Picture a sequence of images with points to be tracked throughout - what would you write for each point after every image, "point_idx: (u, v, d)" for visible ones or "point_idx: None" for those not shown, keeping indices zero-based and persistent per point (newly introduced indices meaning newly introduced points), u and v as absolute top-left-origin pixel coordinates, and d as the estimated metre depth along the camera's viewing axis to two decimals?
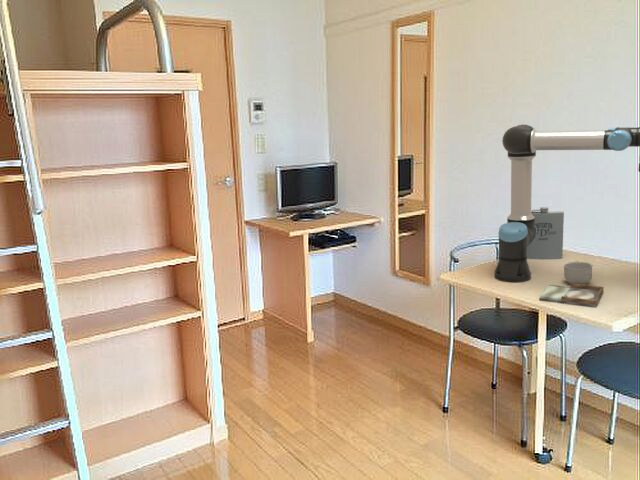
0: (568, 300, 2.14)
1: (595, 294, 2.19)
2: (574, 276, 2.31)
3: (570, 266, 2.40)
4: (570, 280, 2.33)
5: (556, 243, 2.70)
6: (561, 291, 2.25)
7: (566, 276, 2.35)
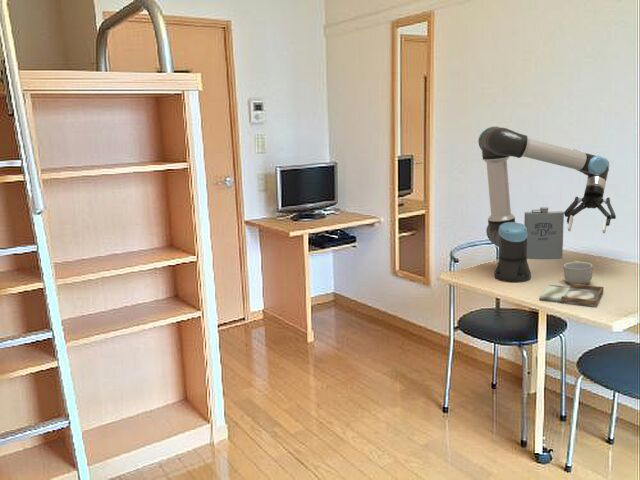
0: (568, 300, 2.14)
1: (595, 294, 2.19)
2: (574, 276, 2.31)
3: (570, 266, 2.40)
4: (570, 280, 2.33)
5: (556, 243, 2.70)
6: (561, 291, 2.25)
7: (566, 276, 2.35)
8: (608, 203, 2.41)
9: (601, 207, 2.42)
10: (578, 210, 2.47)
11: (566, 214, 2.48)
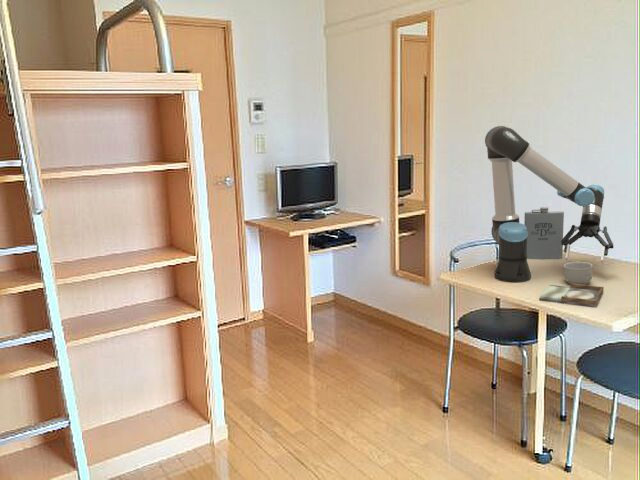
0: (568, 300, 2.14)
1: (595, 294, 2.19)
2: (574, 276, 2.31)
3: (570, 266, 2.40)
4: (570, 280, 2.33)
5: (556, 243, 2.70)
6: (561, 291, 2.25)
7: (566, 276, 2.35)
8: (605, 232, 2.39)
9: (598, 236, 2.39)
10: (575, 239, 2.44)
11: (563, 243, 2.45)
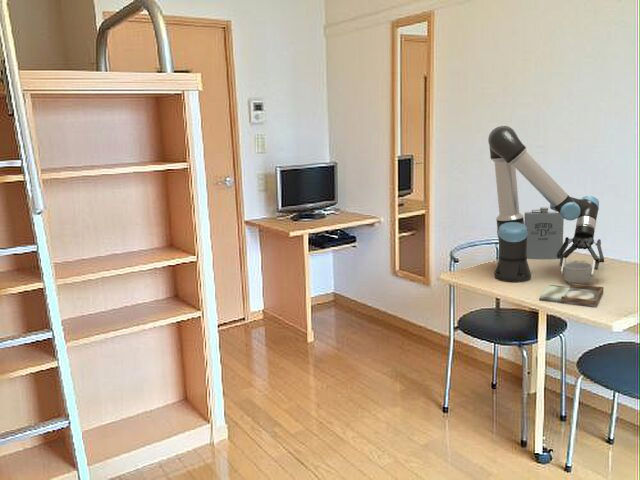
0: (568, 300, 2.14)
1: (595, 294, 2.19)
2: (574, 276, 2.31)
3: (570, 266, 2.39)
4: (570, 280, 2.33)
5: (556, 243, 2.70)
6: (561, 291, 2.25)
7: (566, 276, 2.35)
8: (598, 245, 2.35)
9: (591, 249, 2.36)
10: (570, 251, 2.40)
11: (559, 256, 2.41)
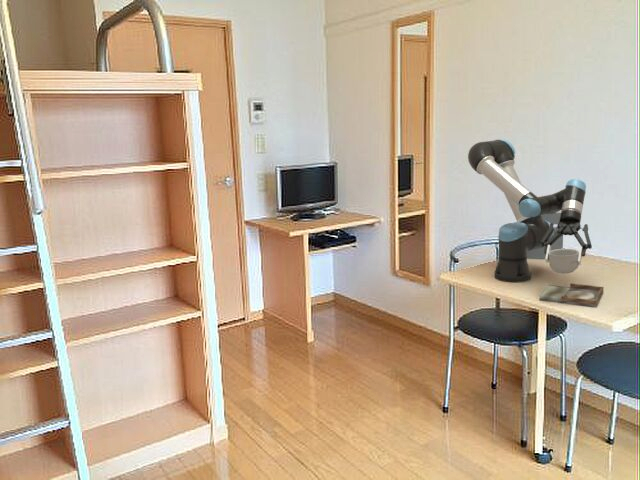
0: (568, 300, 2.14)
1: (595, 294, 2.19)
2: (559, 264, 2.14)
3: (555, 254, 2.22)
4: (555, 268, 2.16)
5: (556, 243, 2.70)
6: (561, 291, 2.25)
7: (551, 264, 2.17)
8: (585, 231, 2.18)
9: (577, 235, 2.19)
10: (555, 238, 2.23)
11: (543, 243, 2.24)
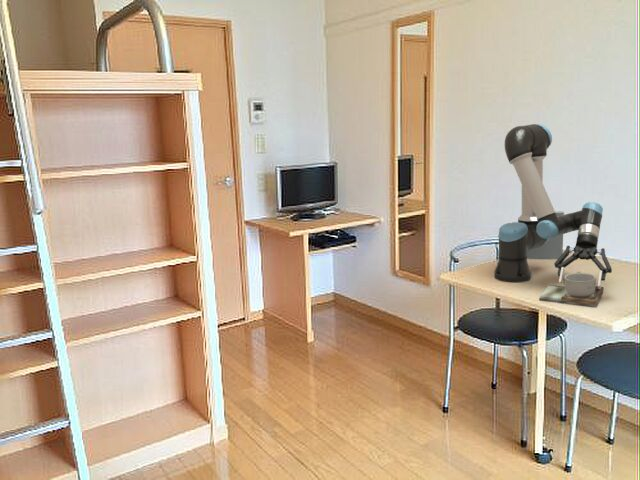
0: (568, 300, 2.14)
1: (595, 294, 2.19)
2: (576, 289, 2.13)
3: (571, 277, 2.21)
4: (571, 293, 2.15)
5: (556, 243, 2.70)
6: (561, 291, 2.25)
7: (567, 289, 2.17)
8: (603, 255, 2.17)
9: (595, 259, 2.18)
10: (570, 261, 2.23)
11: (557, 265, 2.24)
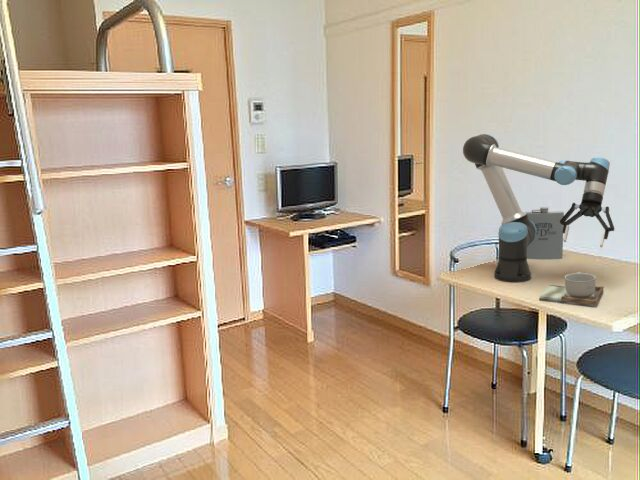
0: (568, 300, 2.14)
1: (595, 294, 2.19)
2: (576, 289, 2.13)
3: (571, 277, 2.21)
4: (571, 293, 2.15)
5: (556, 243, 2.70)
6: (561, 291, 2.25)
7: (567, 289, 2.17)
8: (607, 213, 2.26)
9: (599, 218, 2.27)
10: (575, 219, 2.33)
11: (562, 223, 2.34)
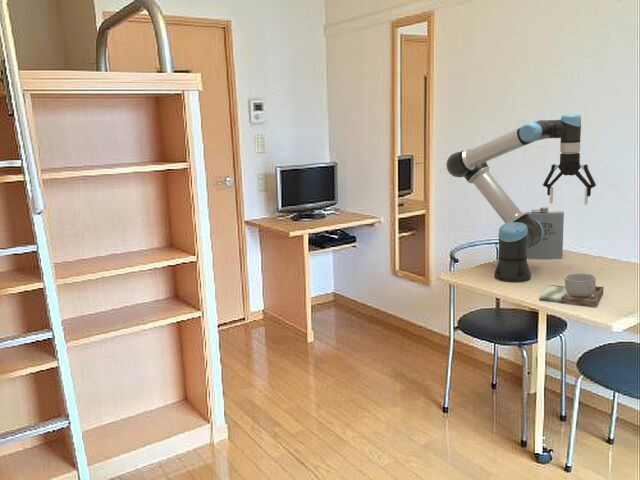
0: (568, 300, 2.14)
1: (595, 294, 2.19)
2: (576, 289, 2.13)
3: (571, 277, 2.21)
4: (571, 293, 2.15)
5: (556, 243, 2.70)
6: (561, 291, 2.25)
7: (567, 289, 2.17)
8: (586, 172, 2.31)
9: (580, 177, 2.33)
10: None
11: (545, 186, 2.42)
